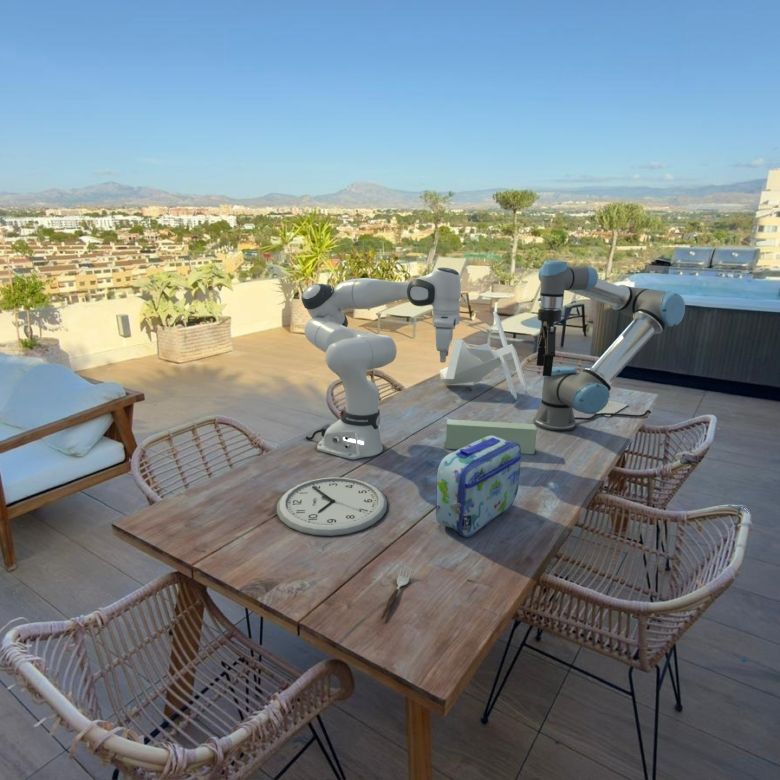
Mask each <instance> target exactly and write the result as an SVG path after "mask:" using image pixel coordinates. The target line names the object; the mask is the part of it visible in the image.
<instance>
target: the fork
mask: <svg viewBox="0 0 780 780" xmlns="http://www.w3.org/2000/svg"><path fill="white" fill-rule="evenodd" d="M403 567H404V568H403ZM406 567H407V565H405V566H404V564H402V565H401V568H400V571H399V573H398V576H397V578H396V584H397V587H396V589H394V591H393V592H392V593H391V595H390V597H389V599H387V603H386V605H385V608H384V610H383V613H382V616H381V619H384V617H385V616H386V614H387V613H388V611H389V610H390V608H391V607H392V606H393V604H394V603H395V601H396V598H397V595H398V593H399V590H400V588H401V587H403V586H406V585H408V584H409V582H410V578H411V574H412V570H413V567H411V568H410V566H408V567H407V570H406ZM409 568H410V571H409ZM408 573H409V574H408Z"/></svg>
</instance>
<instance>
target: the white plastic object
mask: <svg viewBox="0 0 780 780" xmlns="http://www.w3.org/2000/svg"><path fill="white" fill-rule="evenodd" d="M492 315H493V319H494V321H495V324H496V325H495V326H496V328H497V332H498V335H499V338H500V342H501V345H502V347H500V348H498V349H496V350H495V349H493V348H492V347H491V346H490V344H489V343H488V342H487V343H483V344H479V345H473V346H469V345H468V343H466V342H465V340H464V339H463V338H460V339H458V338H454V340H453V344H452V349H451V353H450V357H449V362H448V366H446V367H444V368H442V369H440V370H439V371H438V372H439V376H440V381H442V383H443V384H444V385H445V386H449V385H458V384H467V383H468V384H469V383H473V384H477V383H480V382H482V381H484V378H485V377H486V376H487V375H489V374H490V373H492V372H494V371H495V370H496V369H497V368H499V367H500V366H502V370H503V373H504V376H505V380H506V383H507V386H508V390H509V393H510V394H511V395H512V397H513V398H514V399H515V400H517V392H516V391H517V390H516V388H515V385H514V381H513V378H512V375H511V371H510V369H509V365H508V361H510V360H513V363H514V366H515V369H516V372H517V376H518V380H519V382H520V385H521V389H522V391H523V393H524V395H525V396H526V397H528V396H531V395H530V390H529V388H528V387H529V386H528V384H527V381H526V378H525V375H524V371H523V369H522V368H523V367H522V366H521V362H520V359H519V355H518V352H517V349H516V347H515V346H514V345H513V343H511V344H508V341H507V337H506V334H505V331H504V328H503V325H502V321H501V318H500V315H499V314H498V312H497V311H496V310H495V311H492Z"/></svg>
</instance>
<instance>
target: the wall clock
mask: <svg viewBox="0 0 780 780" xmlns="http://www.w3.org/2000/svg"><path fill="white" fill-rule="evenodd" d="M387 509H388V500H387V498H386V496H385V494H384V493H383V492H382V491H381V490H380V489H379V488H377V487H376V486H374V485H372V484H371V483H369V482H365V481H362V480H359V479H355V478H349V477H338V476H337V477H335V476H333V477H332V476H331V477H322V478H317V479H312V480H307V481H305V482H302V483H299V484H297V485H295V486H293V487H292V488H290V489H288V490H287V491H286V492H285V493H284V494H283V495H281V496H280V498H279V499H278V502H277V503H276V515H277V517H278V518H279V520H280V521H281V522H282V523H283V524H285V525H286V526H287V527H288V528H290V529H293V530H295V531H297V532H299V533H303V534H308V535H312V536H327V537H328V536H329V537H331V536H332V537H333V536H342V535H350V534H352V533H356V532H361V531H363V530H366V529H368V528H369V527H372V526H373V525H375V524H376V523H378V522H379V521H380V520H381V519H382V518H383V517H384V516H385V514H386V512H387Z"/></svg>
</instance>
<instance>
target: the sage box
mask: <svg viewBox="0 0 780 780" xmlns="http://www.w3.org/2000/svg"><path fill="white" fill-rule="evenodd" d="M537 432H538V429H537V425H536V424H535V423H518V422H503V421H501V422H500V421H484V420H483V421H482V420H467V419H449V418H447V419H446V432H445V433H446V434H445V436H446V437H445V449H448V450H459V449H461V448H463V447H465V446H467V445H469V444H471V443H474V442H476V441H478V440H480V439H482V438H485V437H487V436H496V437H498V438H501V439H504V440H506V441H509V442H517V443H518V444H519V445H520V449H521V454H524V455H525V454H526V455H527V454H528V455H535V450H536V440H537V434H538V433H537Z"/></svg>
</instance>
